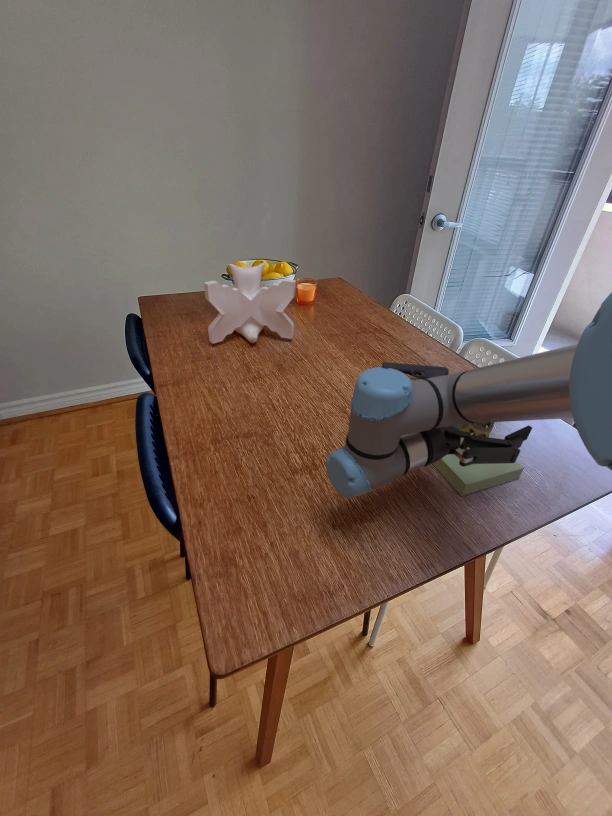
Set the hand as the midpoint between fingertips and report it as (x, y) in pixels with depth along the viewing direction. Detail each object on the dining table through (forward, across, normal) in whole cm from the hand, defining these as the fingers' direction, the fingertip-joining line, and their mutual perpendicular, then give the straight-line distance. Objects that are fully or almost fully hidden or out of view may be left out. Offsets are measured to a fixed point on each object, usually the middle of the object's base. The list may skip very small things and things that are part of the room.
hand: (495, 412), depth 75 cm
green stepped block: (-3, 0, -12) cm, 12 cm away
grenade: (-3, 0, -9) cm, 10 cm away
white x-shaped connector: (-18, -74, -12) cm, 77 cm away
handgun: (+11, -29, -12) cm, 34 cm away
